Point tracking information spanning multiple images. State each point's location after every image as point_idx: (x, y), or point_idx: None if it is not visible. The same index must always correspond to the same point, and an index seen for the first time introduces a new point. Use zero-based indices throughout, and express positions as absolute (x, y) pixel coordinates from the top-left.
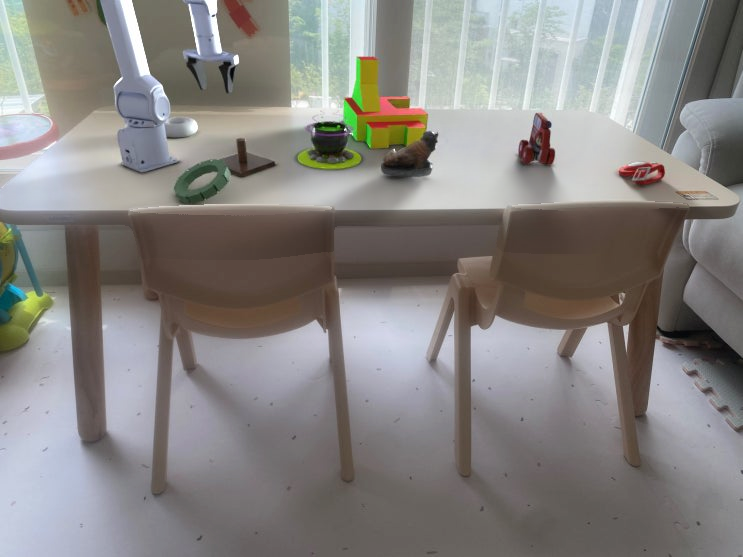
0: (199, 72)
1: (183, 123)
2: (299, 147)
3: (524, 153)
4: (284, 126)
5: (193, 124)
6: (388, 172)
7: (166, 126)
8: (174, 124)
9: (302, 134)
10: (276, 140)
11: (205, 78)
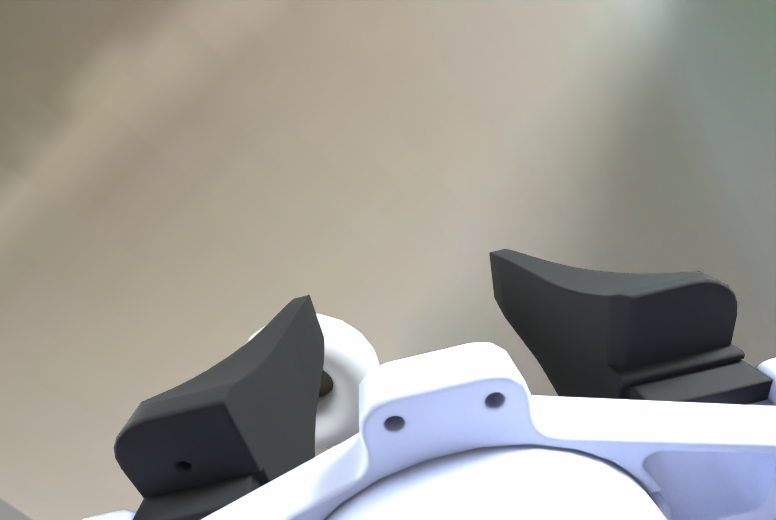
0: (302, 416)
1: (357, 406)
2: (762, 219)
3: None
4: (585, 21)
5: (371, 369)
6: None
7: (326, 447)
8: (341, 430)
9: (711, 75)
10: (652, 209)
11: (297, 324)
